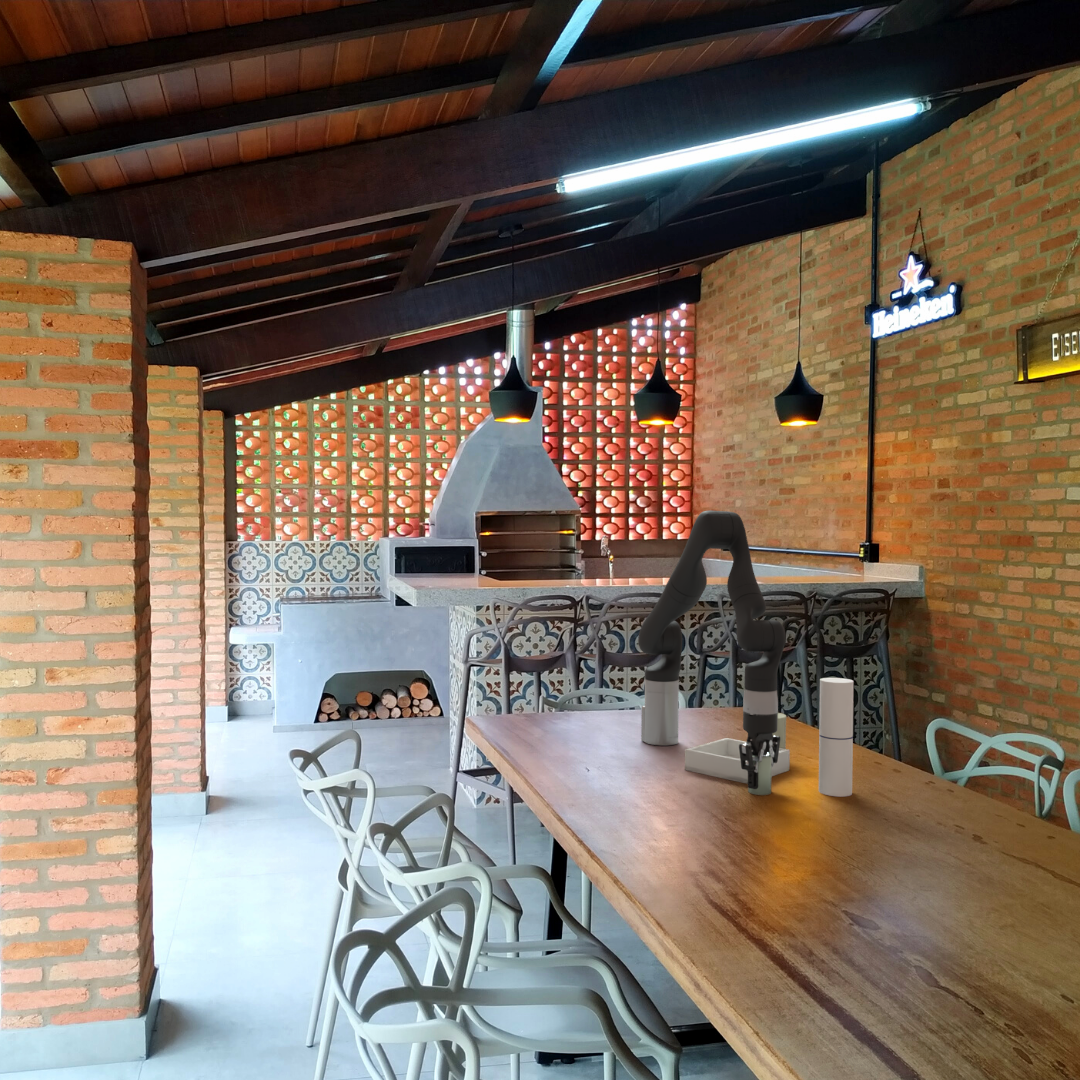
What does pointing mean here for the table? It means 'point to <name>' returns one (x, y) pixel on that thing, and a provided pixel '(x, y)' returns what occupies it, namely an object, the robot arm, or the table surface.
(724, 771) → the grey tub
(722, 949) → the table surface
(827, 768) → the cylindrical container
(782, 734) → the can
